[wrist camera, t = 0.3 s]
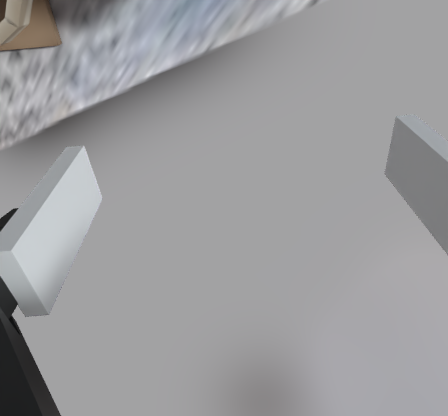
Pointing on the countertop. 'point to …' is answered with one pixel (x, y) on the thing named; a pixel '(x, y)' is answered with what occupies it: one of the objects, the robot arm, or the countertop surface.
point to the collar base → (27, 25)
